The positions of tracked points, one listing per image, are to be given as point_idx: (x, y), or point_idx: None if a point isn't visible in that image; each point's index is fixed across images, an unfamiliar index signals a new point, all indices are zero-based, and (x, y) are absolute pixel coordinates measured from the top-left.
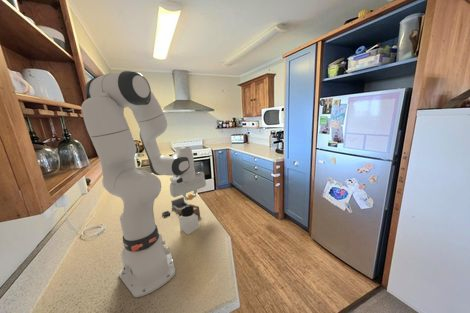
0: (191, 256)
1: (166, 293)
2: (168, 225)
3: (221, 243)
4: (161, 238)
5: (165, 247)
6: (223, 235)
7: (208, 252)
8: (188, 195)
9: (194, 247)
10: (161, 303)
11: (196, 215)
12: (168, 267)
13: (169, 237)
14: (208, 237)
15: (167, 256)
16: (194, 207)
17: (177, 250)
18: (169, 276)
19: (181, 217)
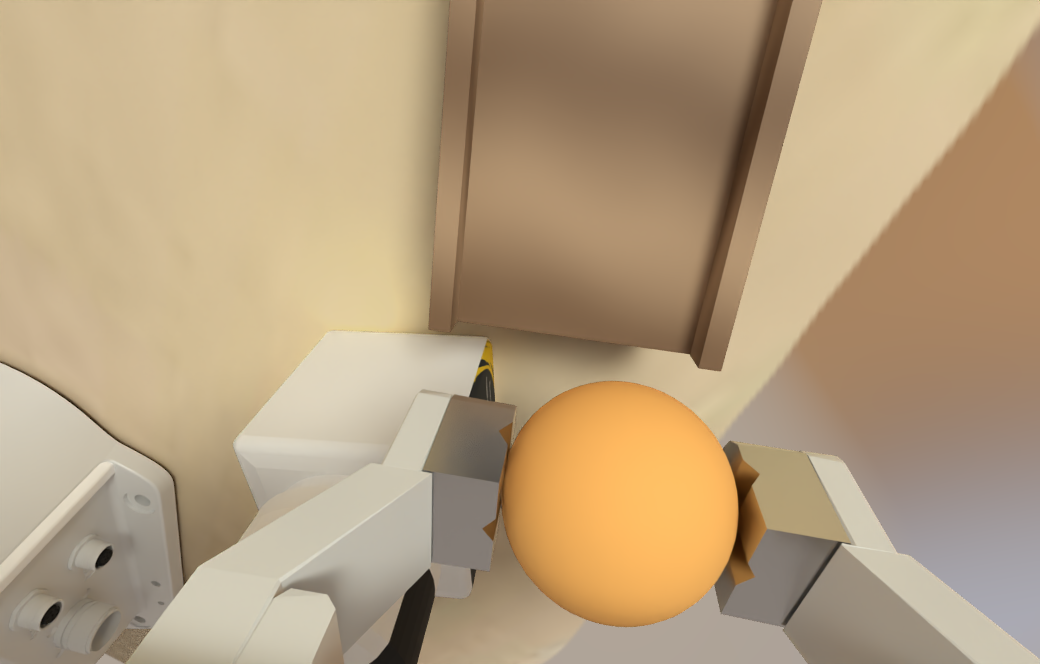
0: None
1: (135, 639)
2: (217, 113)
3: (498, 655)
4: (7, 582)
5: (90, 570)
6: (567, 633)
7: None
8: (543, 561)
9: None
10: (114, 649)
11: (455, 592)
12: (140, 596)
13: (194, 351)
14: (474, 579)
15: (140, 541)
16: (723, 195)
17: (228, 515)
18: (144, 624)
19: (261, 489)
